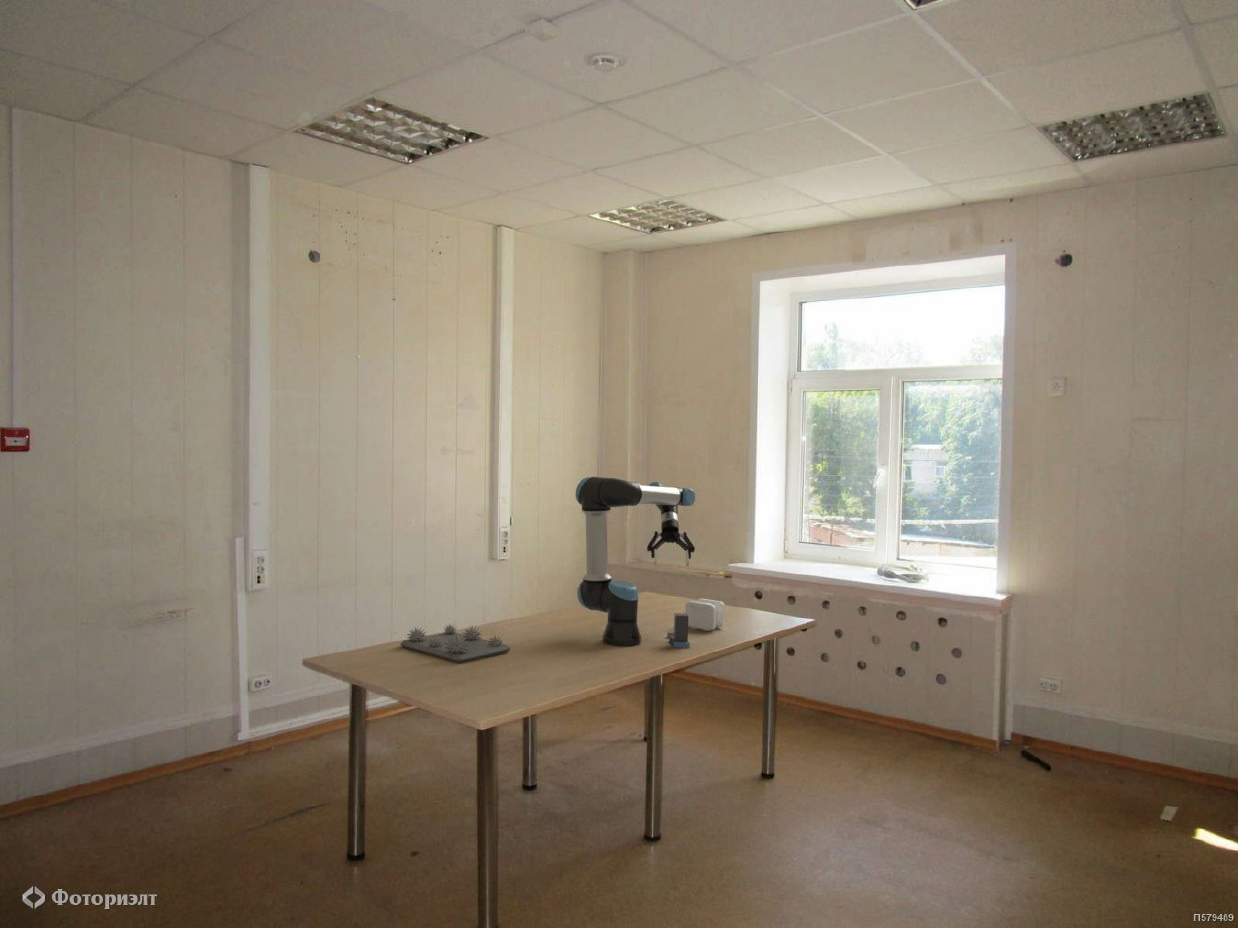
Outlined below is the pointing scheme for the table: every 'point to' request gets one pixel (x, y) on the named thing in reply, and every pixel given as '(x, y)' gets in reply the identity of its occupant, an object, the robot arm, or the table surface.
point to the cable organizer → (705, 614)
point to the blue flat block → (680, 644)
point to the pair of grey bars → (670, 636)
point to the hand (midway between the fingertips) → (671, 563)
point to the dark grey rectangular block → (680, 627)
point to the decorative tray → (455, 644)
